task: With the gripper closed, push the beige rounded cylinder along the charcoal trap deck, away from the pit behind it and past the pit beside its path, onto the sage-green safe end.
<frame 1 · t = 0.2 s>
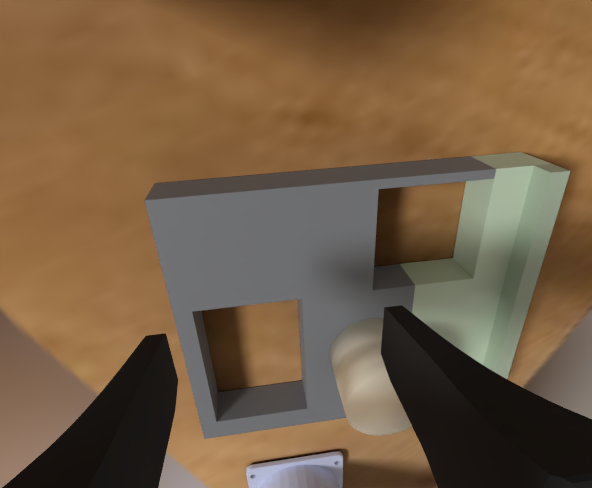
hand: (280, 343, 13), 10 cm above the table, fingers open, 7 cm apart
trap deck: (344, 296, 24), on the table
beige rounded cylinder: (369, 350, 23), point 2 cm above the table, touching trap deck
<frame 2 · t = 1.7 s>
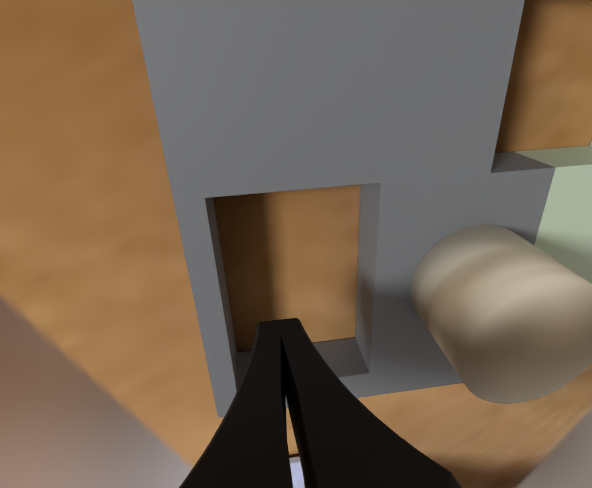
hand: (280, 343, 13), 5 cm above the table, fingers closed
trap deck: (427, 204, 16), on the table
beige rounded cylinder: (469, 280, 15), point 2 cm above the table, touching trap deck
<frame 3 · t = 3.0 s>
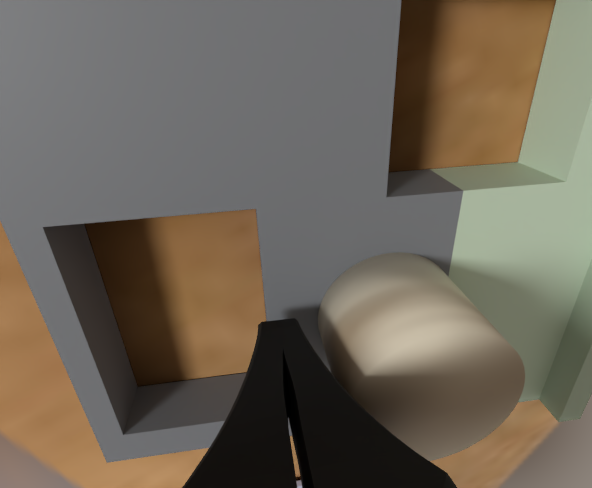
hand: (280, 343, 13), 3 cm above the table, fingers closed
trap deck: (336, 226, 15), on the table
beige rounded cylinder: (385, 312, 14), point 2 cm above the table, touching gripper
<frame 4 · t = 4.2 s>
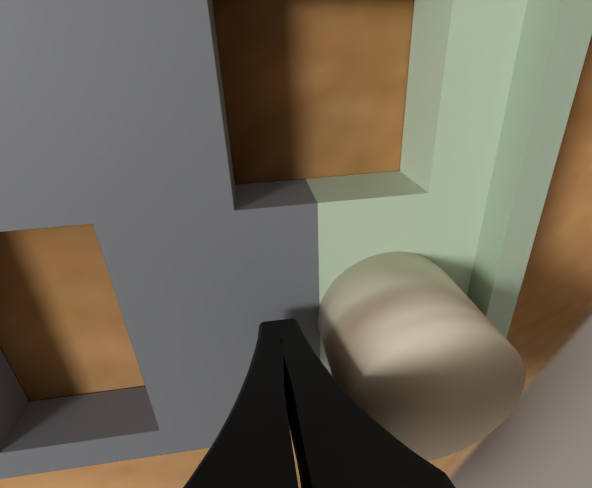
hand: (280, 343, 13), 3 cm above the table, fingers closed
trap deck: (214, 238, 14), on the table
beige rounded cylinder: (385, 312, 14), point 2 cm above the table, touching gripper, trap deck
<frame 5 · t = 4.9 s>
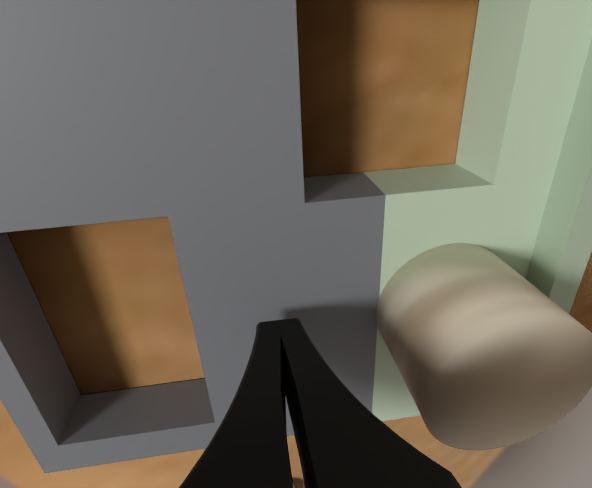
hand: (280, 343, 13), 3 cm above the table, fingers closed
trap deck: (271, 231, 14), on the table
beige rounded cylinder: (442, 303, 14), point 2 cm above the table, touching trap deck
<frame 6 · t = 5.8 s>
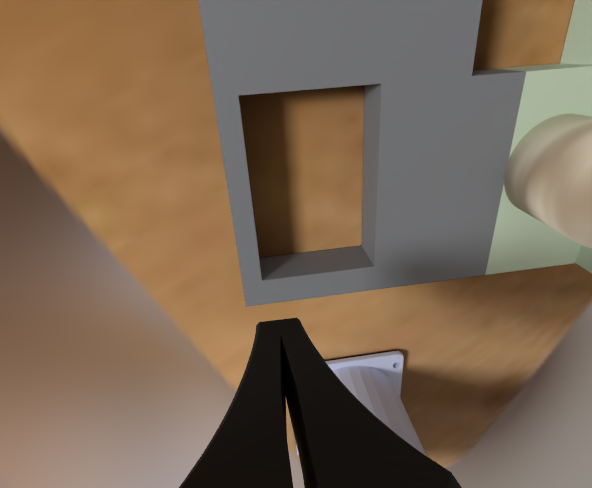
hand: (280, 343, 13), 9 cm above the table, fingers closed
trap deck: (421, 117, 19), on the table
beige rounded cylinder: (552, 166, 19), point 2 cm above the table, touching trap deck
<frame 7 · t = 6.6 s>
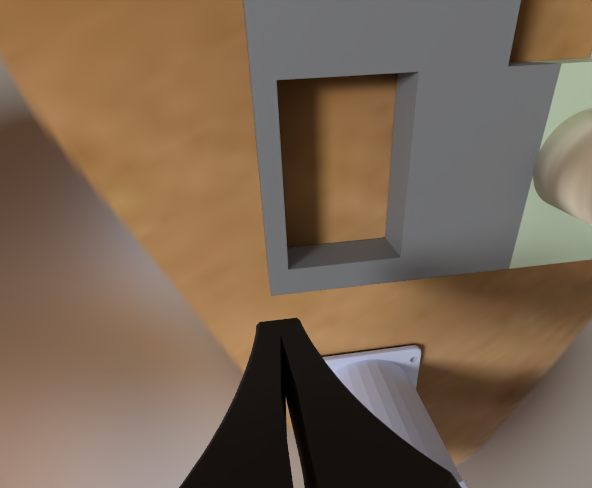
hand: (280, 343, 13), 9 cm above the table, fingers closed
trap deck: (451, 108, 19), on the table
beige rounded cylinder: (581, 159, 19), point 2 cm above the table, touching trap deck
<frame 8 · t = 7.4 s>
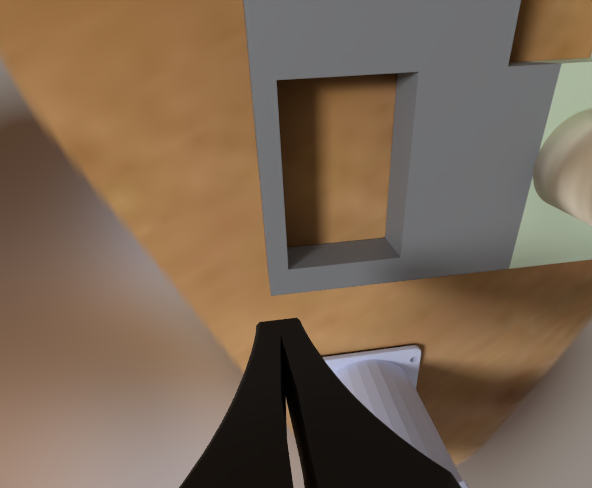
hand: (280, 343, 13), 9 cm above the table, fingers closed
trap deck: (451, 108, 19), on the table
beige rounded cylinder: (581, 159, 19), point 2 cm above the table, touching trap deck
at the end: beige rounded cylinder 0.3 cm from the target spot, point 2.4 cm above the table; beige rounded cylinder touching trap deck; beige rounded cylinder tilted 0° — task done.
